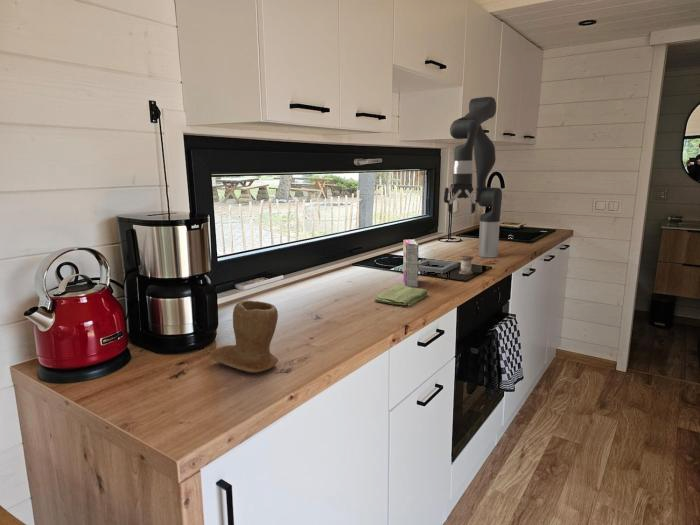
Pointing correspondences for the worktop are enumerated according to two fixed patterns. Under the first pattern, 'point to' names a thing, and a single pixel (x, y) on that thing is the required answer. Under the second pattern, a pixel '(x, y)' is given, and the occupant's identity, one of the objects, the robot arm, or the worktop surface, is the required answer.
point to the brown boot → (250, 338)
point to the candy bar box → (410, 262)
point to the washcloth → (401, 295)
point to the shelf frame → (446, 268)
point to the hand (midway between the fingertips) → (461, 213)
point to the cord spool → (466, 265)
